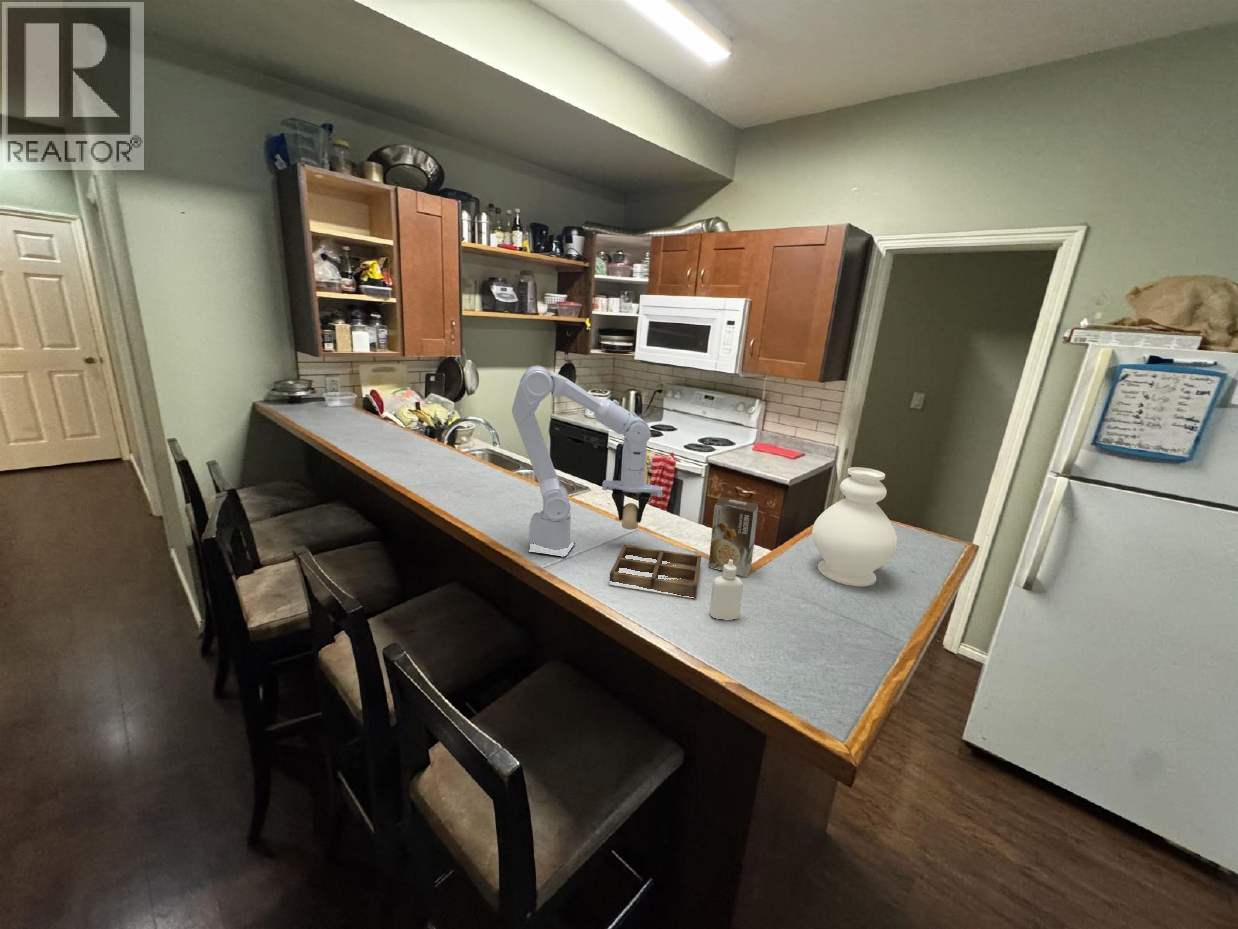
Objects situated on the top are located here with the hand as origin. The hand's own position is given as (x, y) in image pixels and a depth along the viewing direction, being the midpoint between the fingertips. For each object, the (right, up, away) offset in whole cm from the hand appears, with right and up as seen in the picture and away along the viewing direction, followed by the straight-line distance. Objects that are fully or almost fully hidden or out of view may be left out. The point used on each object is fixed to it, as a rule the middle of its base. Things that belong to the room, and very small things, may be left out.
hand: (630, 520), depth 120 cm
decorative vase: (+51, -12, -5) cm, 53 cm away
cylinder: (0, -2, 0) cm, 2 cm away
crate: (+6, -11, -12) cm, 17 cm away
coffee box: (+23, -11, -6) cm, 26 cm away
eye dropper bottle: (+18, -16, -25) cm, 35 cm away
